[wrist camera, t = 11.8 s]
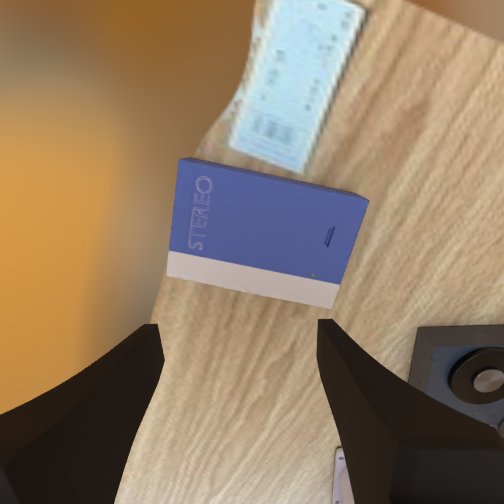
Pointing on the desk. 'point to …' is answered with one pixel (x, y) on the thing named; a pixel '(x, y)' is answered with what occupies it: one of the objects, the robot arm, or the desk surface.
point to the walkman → (261, 232)
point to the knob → (502, 428)
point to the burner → (479, 376)
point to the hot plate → (445, 356)
